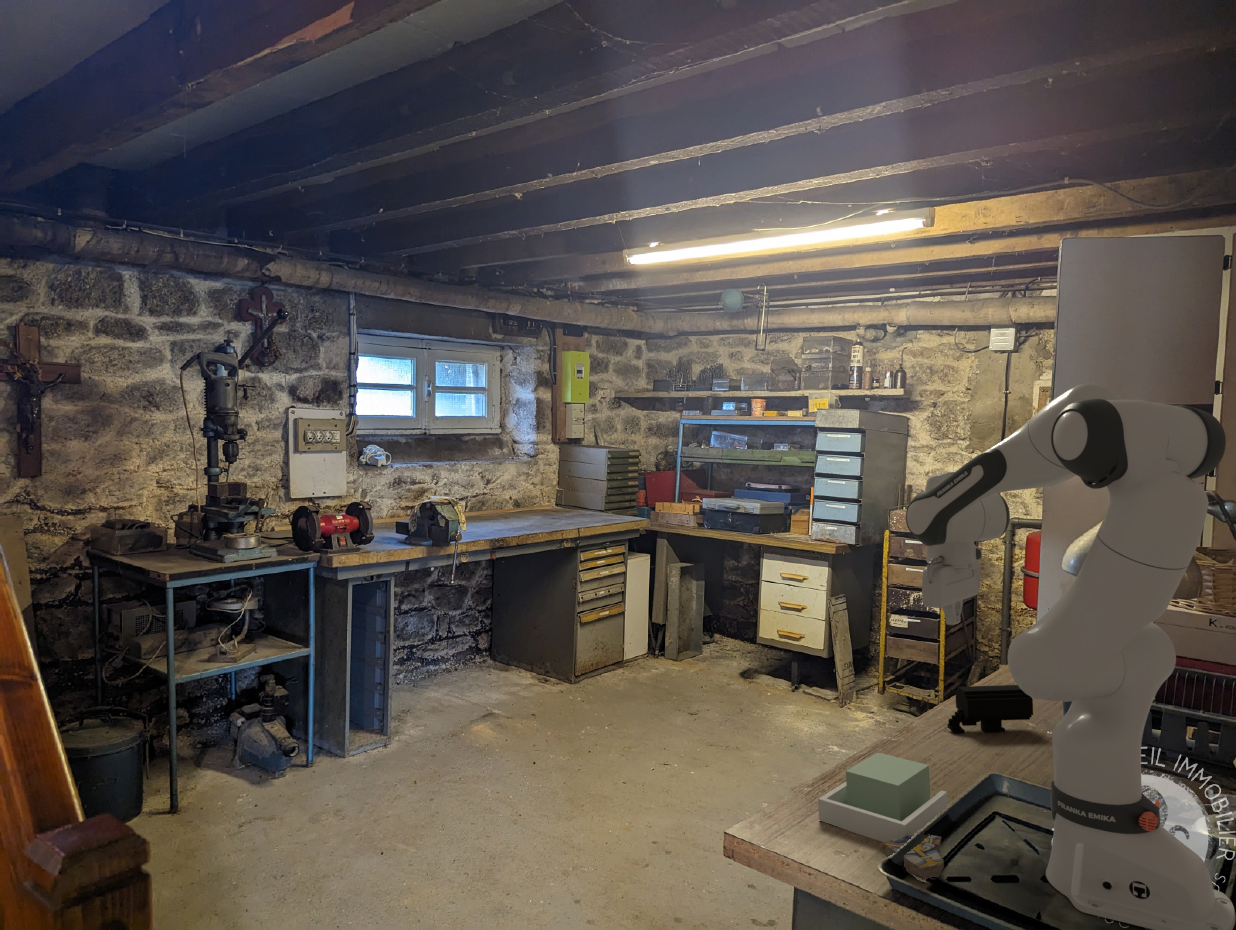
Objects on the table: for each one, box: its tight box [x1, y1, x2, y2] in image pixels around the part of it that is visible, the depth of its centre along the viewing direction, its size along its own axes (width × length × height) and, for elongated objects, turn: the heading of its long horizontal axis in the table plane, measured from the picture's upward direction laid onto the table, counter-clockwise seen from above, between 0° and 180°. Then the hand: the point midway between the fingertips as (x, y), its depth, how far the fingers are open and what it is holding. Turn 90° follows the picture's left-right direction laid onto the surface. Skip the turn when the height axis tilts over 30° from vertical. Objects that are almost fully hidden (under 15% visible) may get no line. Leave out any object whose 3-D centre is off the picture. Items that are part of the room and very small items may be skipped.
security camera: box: [947, 684, 1034, 735], centre depth 179 cm, size 7×18×10 cm, turn 88°
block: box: [845, 752, 931, 821], centre depth 140 cm, size 10×12×8 cm
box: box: [817, 781, 949, 843], centre depth 138 cm, size 16×17×4 cm
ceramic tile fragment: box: [879, 834, 945, 880], centre depth 121 cm, size 12×3×10 cm
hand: (953, 623), depth 152 cm, fingers closed
